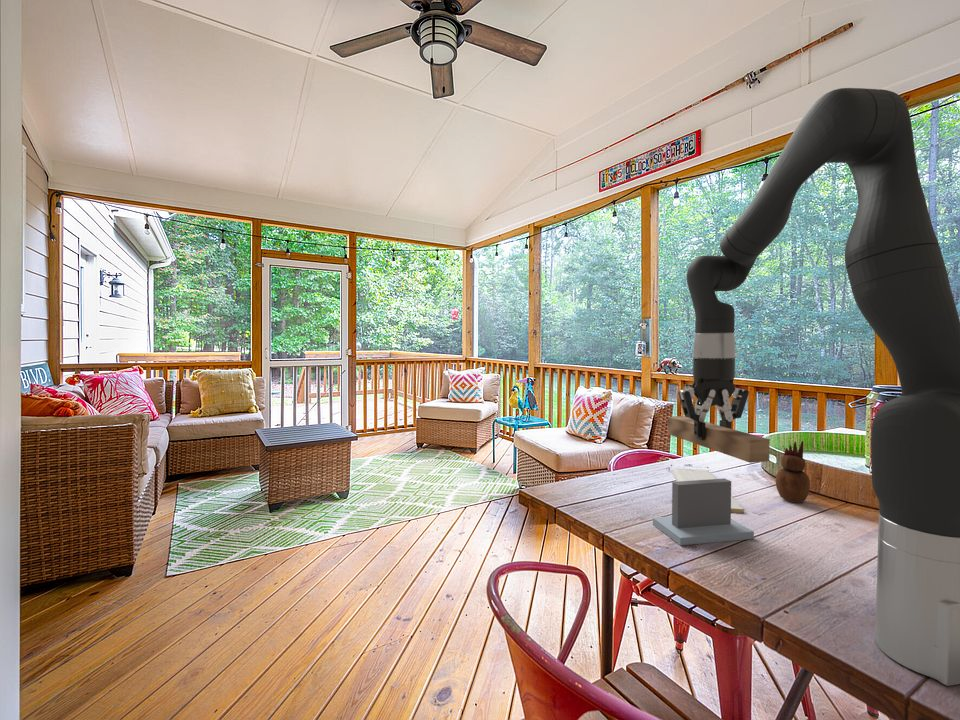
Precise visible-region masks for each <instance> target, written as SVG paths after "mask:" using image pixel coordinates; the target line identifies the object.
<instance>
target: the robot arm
mask: <svg viewBox="0 0 960 720" xmlns="http://www.w3.org/2000/svg"><path fill="white" fill-rule="evenodd" d="M911 120H912V119H911V115H910V110H909V107H908V105H907V102H906V100H904V98H903V97H902V96H901V95H899V94H898V93H896V92H894V91H891V90H889V89H882V88H881V89H879V88H860V87H859V88H858V87H842V88H837V89H833V90H831V91H828V92H826V93H825V94H823V95H822V96H821V97H819V98H818V99H817V100H816V101H815V102H814V103H813V104H812V105H811V106H810V107H809V109H808V110H807V112H805V114H804V116H803V117H802V119H801V120H800V122H799V123H798V124H797V126H796V127H795V129H794V131H793V132H792V134H791V136H790V138H789V139H788V140H787V143H786V144H785V146H784V147H783V149H782V151H781V152H780V154H779V156H778V158H777V159H776V160H775V163H774V164H773V166H772V168H771V170H770V171H769V173H768V175H767V176H766V178H765V180H764V182H763V183H762V185H761V186H760V188H759V190H758V191H757V193H756V194H755V196H754V197H753V199H752V200H751V202H750V203H749V205H748V206H747V207H746V208H745V210H743V212H742V213H741V214H740V215H739V217H738V218H737V219H736V220H735V222H734V223H733V224H732V225H731V226H730V228H729V229H728V230H727V231H726V233H724V235H723V237H722V238H721V240H720V243H719V249H720V252H721V253H722V255H710V254H709V255H706V254H705V255H699V256H696V257H695V258H694V259H692V261H691V262H690V263H689V266H688V267H687V270H686V271H687V272H686V284H687V287H688V288H687V289H688V291H689V294H690V298H691V303H692V306H693V310H694V314H695V320H694V321H695V322H694V324H695V327H694V333H695V334H694V339H693V350H692V351H693V354H692V355H693V357H692V361H693V362H692V367H693V368H692V378H693V383H692V385H691V386H690V388H686V389H679V390H678V391H677V393H678V394H677V395H678V398H679V401H680V404H681V409H682V412H683V416H685V417H687V418H690V419H693V420H694V435H695V436H696V438H697V439H699V440H705V422H706V421H705V420H706V417H707V413H708V412H709V411H710V409H711V407H713V406H715V408H716V409H717V411H718V414H719V417H720V419H719V426H722V427H726V428H730V429H732V422H733V421H734V420H736V419H741V418H742V416H743V412H744V410H745V406H746V404H747V403H746V402H747V399H748V397H749V394H750V392H749V390H748V389H743V388H739V387H736V386H735V383H734V379H735V376H736V374H735V373H736V338H735V324H736V323H735V319H736V317H735V314H736V313H735V308H734V306H733V305H731V304H730V303H727V302H723V301H720V300H719V299H718V297H717V294H716V292H730V291H733V290H736V289H738V288H740V286H741V285H743V284H744V283H745V281H746V279H747V277H748V276H749V274H750V272H751V270H752V268H753V266H754V265H755V263H756V261H757V259H758V257H759V255H760V254H762V253H763V252H764V251H765V250H766V249H767V247H769V246H770V245H771V243H772V242H773V241H774V240H775V239H777V237H778V236H779V235H780V233H781V232H782V231H783V230H784V228H785V226H786V225H787V223H788V220H789V218H790V215H791V210H792V207H793V203H794V199H795V197H796V195H797V193H798V191H799V190H800V189H801V188H802V186H803V184H804V183H805V182H806V181H807V180H808V179H809V178H810V177H811V176H812V175H813V174H815V172H816V171H818V170H819V169H820V168H821V167H823V166H824V165H825V164H826V163H829V164H833V163H834V164H837V163H838V164H846V165H847V166H848V168H849V170H850V172H851V174H852V178H853V181H854V186H855V190H856V194H857V211H856V213H855V217H854V221H853V224H852V226H851V229H850V231H849V234H848V236H847V241H846V244H845V248H844V261H845V268H846V269H845V270H846V273H847V277H848V282H849V285H850V289H851V292H852V295H853V299H854V301H855V303H856V306H857V308H858V310H859V311H860V312H861V315H862V316H863V318H864V319H865V320H866V322H867V324H868V325H869V326H870V328H871V329H872V330H873V331H874V333H875V335H877V337H878V338H879V339H880V340H881V342H882V344H883V346H885V347H886V349H887V351H888V352H889V354H890V355H891V358H892V360H893V363H894V364H895V365H894V366H895V368H896V372H897V375H898V379H899V383H900V384H899V385H900V389H901V396H898V397H897V396H896V397H895V398H892V399H890V400H888V401H886V402H885V403H884V404H883V405H882V406H880V407H879V409H878V410H877V411H876V413H875V415H874V418H873V421H872V425H871V431H870V456H871V457H870V459H871V460H870V464H871V465H870V466H871V484H872V490H873V492H874V495H875V497H876V498H877V500H878V533H877V535H878V536H877V561H876V562H877V563H876V565H877V566H876V593H875V594H876V595H875V599H876V600H875V601H876V602H875V629H874V631H875V633H874V635H875V636H874V639H875V641H874V642H875V643H876V645H877V647H878V648H879V649H880V650H881V651H882V652H883V653H884V654H885V655H886V656H888V657H889V658H890V659H891V660H893V661H895V662H896V663H898V664H900V665H902V666H904V667H905V668H907V669H910V670H911V671H914V672H916V673H918V674H921V675H923V676H927V677H929V678H932V679H934V680H937V681H938V682H940V683H941V684H943V685H945V686H947V687H948V686H949V687H950V686H955V685H956V686H957V685H960V317H959V314H958V313H959V312H958V308H957V306H956V302H955V298H954V295H953V292H952V288H951V287H952V286H951V283H950V279H949V274H948V270H947V267H946V263H945V259H944V257H943V254H942V250H941V246H940V244H939V241H938V238H937V236H936V232H935V229H934V227H933V223H932V219H931V216H930V211H929V209H928V204H927V201H926V197H925V193H924V190H923V186H922V183H921V179H920V175H919V171H918V166H917V165H918V164H917V156H916V149H915V141H914V140H915V139H914V134H913V126H912V125H913V124H912V121H911ZM694 396H695V398H696V400H695V404H693V399H694ZM731 397H732V401H731V400H730V398H731Z"/></svg>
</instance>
